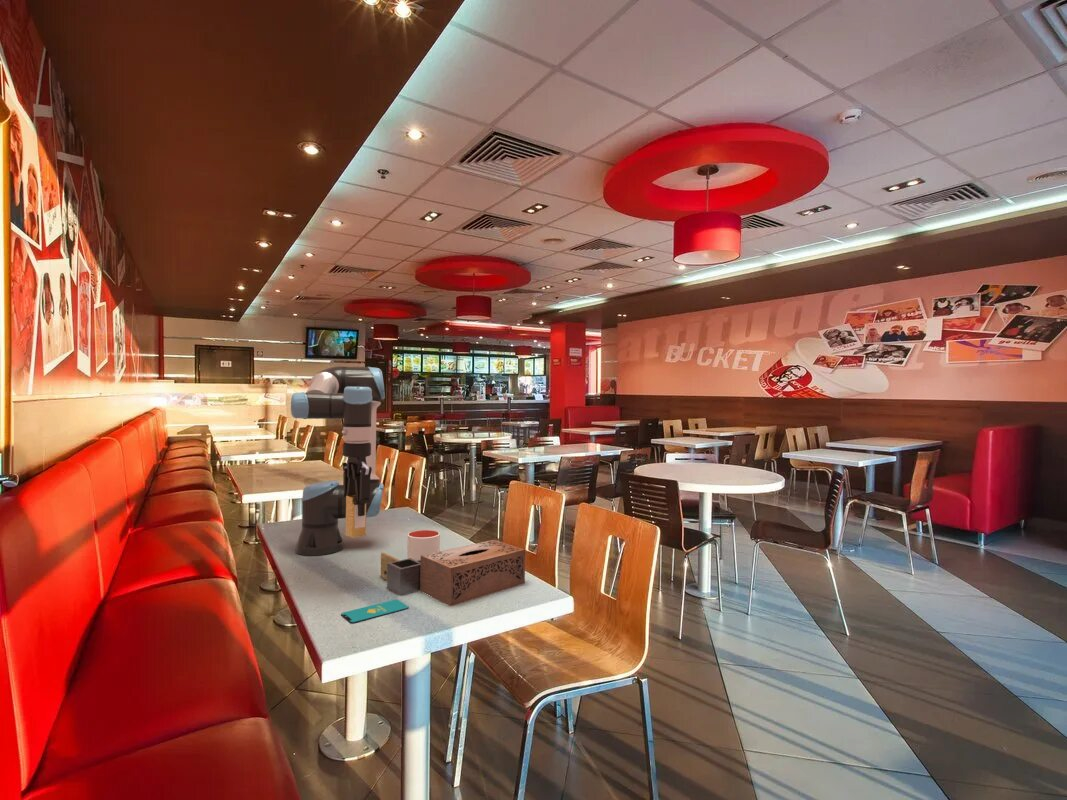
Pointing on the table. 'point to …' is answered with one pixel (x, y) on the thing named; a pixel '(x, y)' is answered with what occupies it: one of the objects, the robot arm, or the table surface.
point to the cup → (422, 543)
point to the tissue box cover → (471, 571)
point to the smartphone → (374, 611)
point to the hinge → (400, 574)
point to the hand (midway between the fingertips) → (355, 525)
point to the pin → (350, 514)
